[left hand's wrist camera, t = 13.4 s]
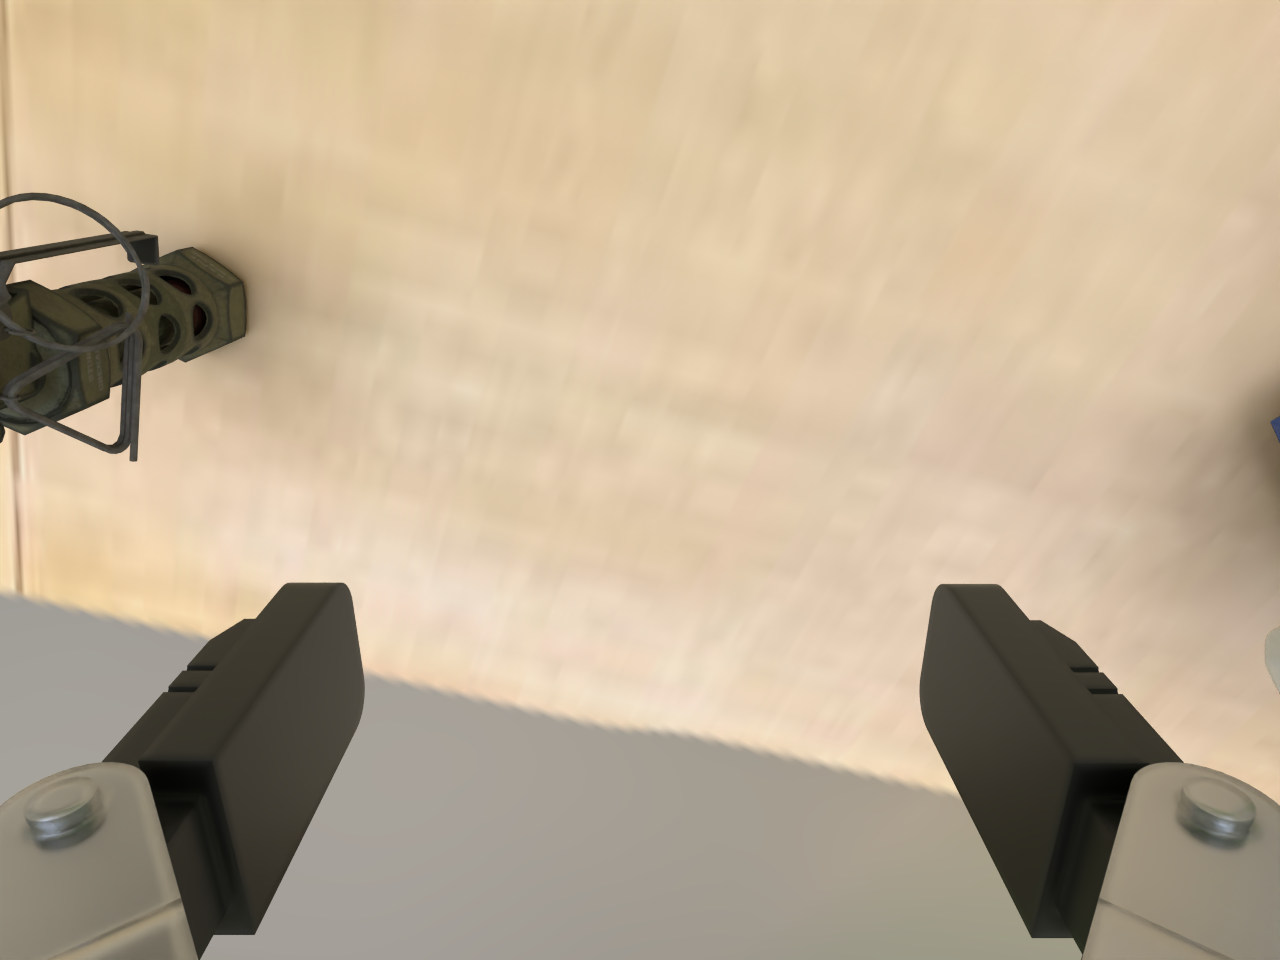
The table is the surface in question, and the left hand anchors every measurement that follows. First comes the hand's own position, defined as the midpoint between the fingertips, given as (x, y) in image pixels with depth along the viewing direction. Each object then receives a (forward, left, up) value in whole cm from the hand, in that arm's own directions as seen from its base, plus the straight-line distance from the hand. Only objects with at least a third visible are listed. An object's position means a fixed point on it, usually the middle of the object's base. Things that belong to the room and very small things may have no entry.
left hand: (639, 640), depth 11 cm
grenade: (-15, -13, -29) cm, 35 cm away
